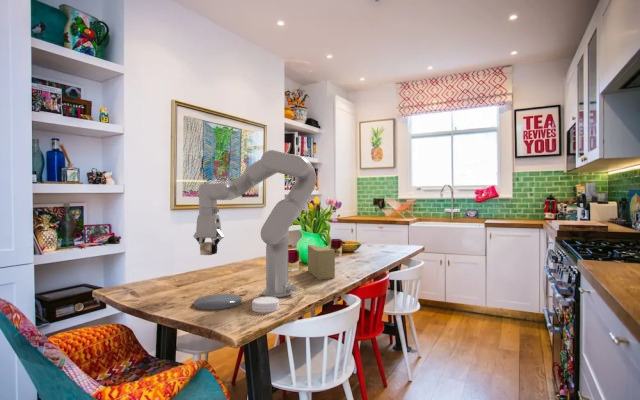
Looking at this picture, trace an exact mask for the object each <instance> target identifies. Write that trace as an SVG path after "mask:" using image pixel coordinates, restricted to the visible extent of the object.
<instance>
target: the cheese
mask: <svg viewBox="0 0 640 400" xmlns="http://www.w3.org/2000/svg"><path fill="white" fill-rule="evenodd" d="M335 253H336V251H335V249H332V248H328V247H323V246H318V245H314V244H308V245H307V272H309V273H310V274H311V275H312V276H314V277H315V278H316V279H317V280H321V281H322V279H323V280H328V279H329V280H331V279H334V278H335V276H336V271H335V270H336V267H335V265H336V264H335V262H336V259H335V258H336V254H335ZM330 278H331V279H330Z"/></svg>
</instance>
